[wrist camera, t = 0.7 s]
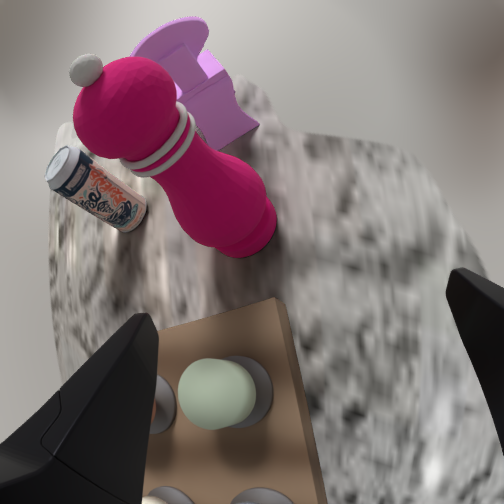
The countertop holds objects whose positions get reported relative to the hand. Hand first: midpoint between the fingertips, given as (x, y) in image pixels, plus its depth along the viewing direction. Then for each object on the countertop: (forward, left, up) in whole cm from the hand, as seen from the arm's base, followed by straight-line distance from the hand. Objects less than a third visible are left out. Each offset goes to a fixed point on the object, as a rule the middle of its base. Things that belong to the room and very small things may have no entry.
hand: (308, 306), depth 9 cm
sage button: (-1, +8, -10) cm, 13 cm away
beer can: (+20, +19, -15) cm, 31 cm away
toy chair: (+28, +6, -15) cm, 32 cm away
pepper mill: (+13, +6, -15) cm, 21 cm away
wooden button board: (-6, +12, -15) cm, 20 cm away
